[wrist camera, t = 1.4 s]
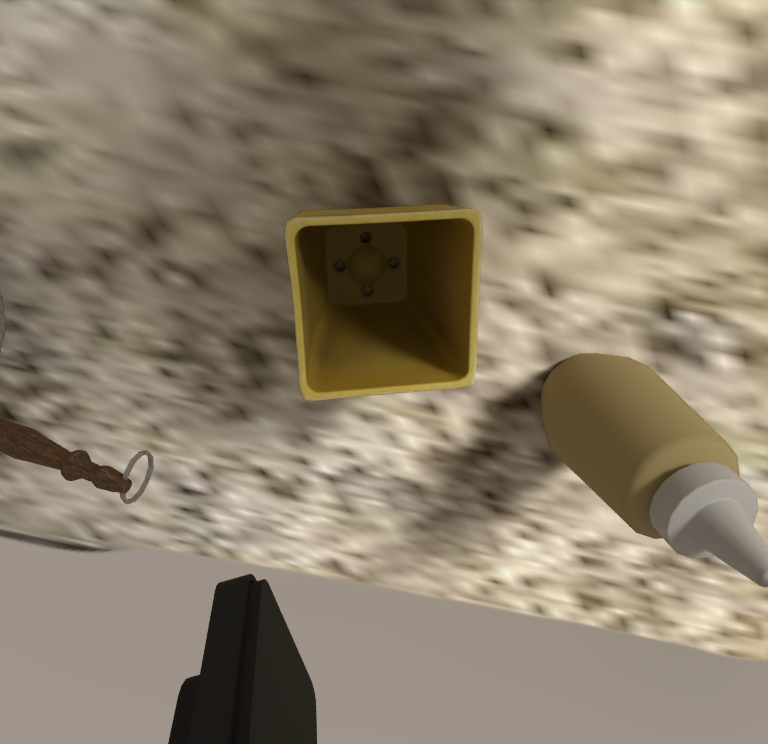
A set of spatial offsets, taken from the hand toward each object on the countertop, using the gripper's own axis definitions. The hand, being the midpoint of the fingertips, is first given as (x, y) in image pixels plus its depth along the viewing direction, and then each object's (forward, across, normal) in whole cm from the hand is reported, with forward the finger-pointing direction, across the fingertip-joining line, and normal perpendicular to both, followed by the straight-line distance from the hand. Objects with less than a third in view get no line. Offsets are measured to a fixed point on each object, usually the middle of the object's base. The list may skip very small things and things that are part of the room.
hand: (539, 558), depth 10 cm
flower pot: (+27, 0, +1) cm, 27 cm away
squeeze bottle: (+27, -12, +14) cm, 33 cm away
